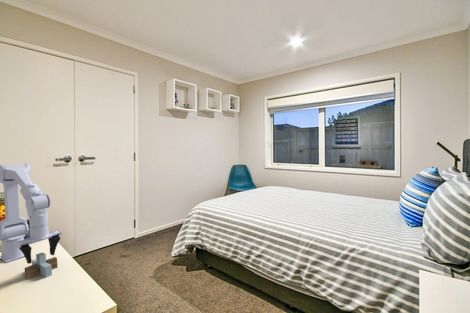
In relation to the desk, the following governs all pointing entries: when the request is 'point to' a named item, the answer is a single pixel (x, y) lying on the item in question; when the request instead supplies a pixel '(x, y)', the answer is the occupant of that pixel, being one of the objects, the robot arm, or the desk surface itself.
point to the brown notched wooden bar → (34, 270)
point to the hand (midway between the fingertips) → (41, 258)
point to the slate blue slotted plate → (42, 264)
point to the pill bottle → (28, 230)
